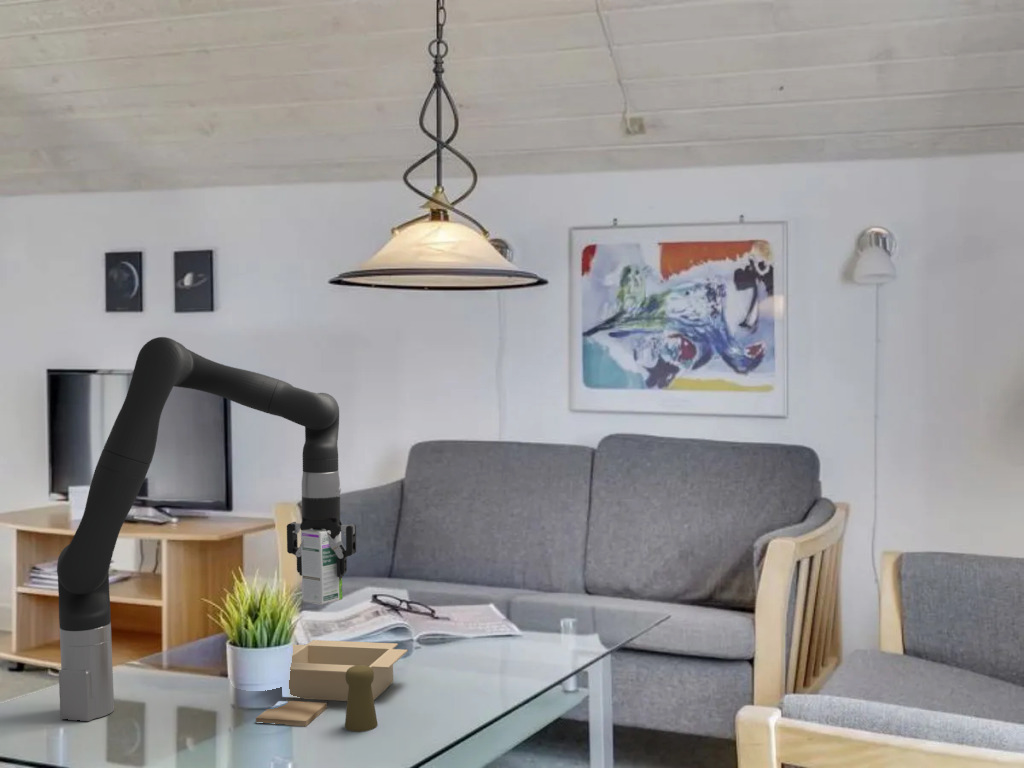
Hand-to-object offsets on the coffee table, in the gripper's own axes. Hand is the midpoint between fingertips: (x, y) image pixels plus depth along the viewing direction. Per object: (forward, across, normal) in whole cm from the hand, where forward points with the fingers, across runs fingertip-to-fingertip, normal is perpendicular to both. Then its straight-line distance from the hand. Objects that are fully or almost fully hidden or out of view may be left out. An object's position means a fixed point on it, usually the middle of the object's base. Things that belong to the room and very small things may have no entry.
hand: (321, 575), depth 219 cm
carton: (+24, +2, +4) cm, 25 cm away
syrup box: (+5, 0, 0) cm, 5 cm away
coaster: (+24, -2, -12) cm, 27 cm away
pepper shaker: (+24, +13, -15) cm, 32 cm away
